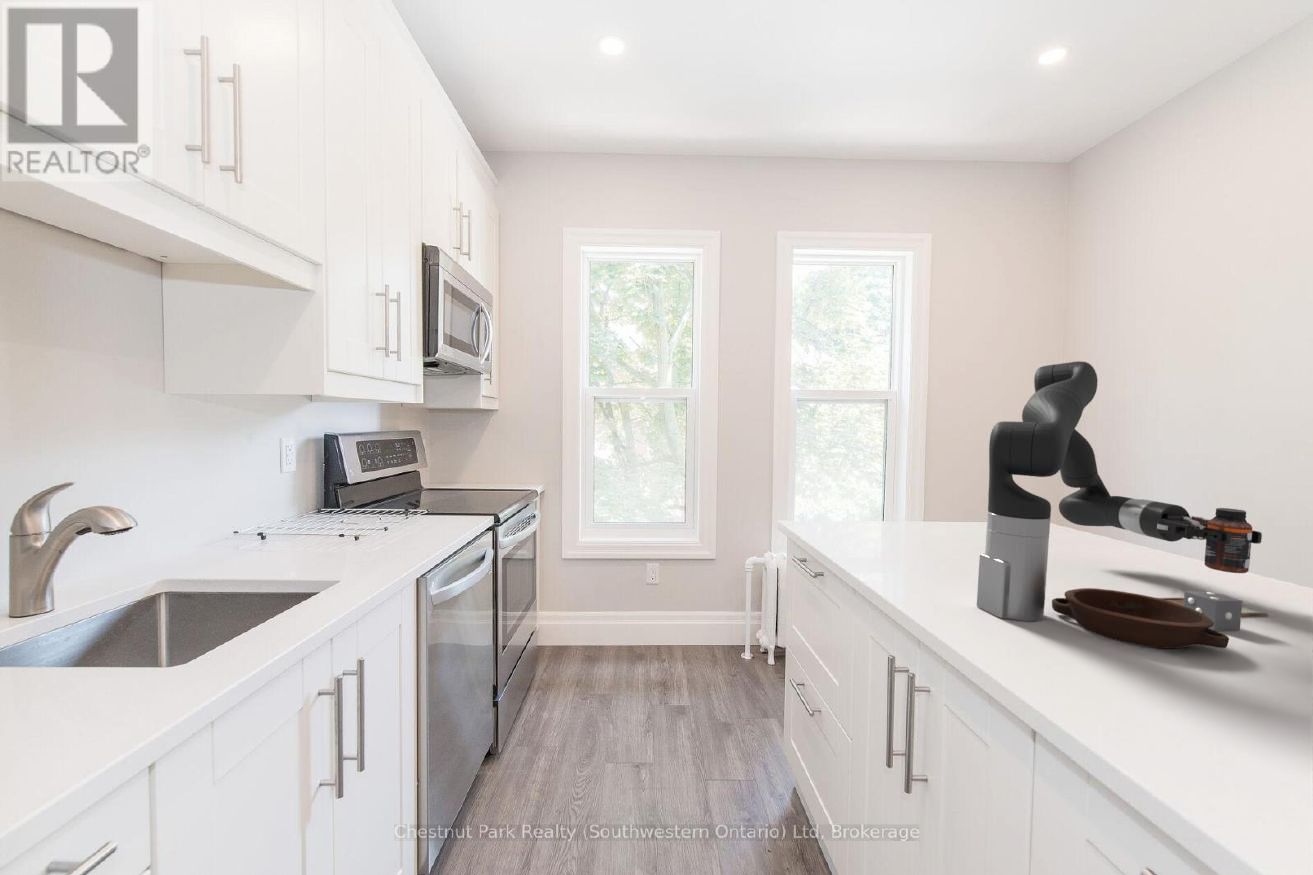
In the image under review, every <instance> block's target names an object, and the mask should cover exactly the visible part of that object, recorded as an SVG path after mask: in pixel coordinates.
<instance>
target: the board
mask: <svg viewBox="0 0 1313 875" xmlns="http://www.w3.org/2000/svg"><path fill="white" fill-rule="evenodd" d="M1158 598H1159V599H1163V600H1167V601H1171V602H1174V603H1177V604H1180V605H1183V606H1184V597H1158ZM1268 616H1269V613H1268V612H1266V611H1263V612H1262V611H1261V612H1260V611H1256V610H1253V609H1250V608H1246V607H1243V606H1242V611H1241V618H1242V617H1268Z"/></svg>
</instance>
